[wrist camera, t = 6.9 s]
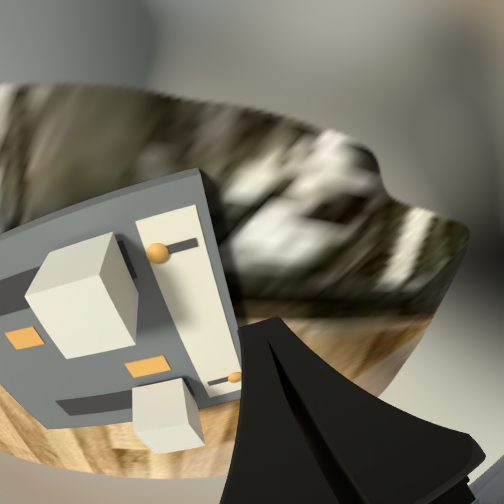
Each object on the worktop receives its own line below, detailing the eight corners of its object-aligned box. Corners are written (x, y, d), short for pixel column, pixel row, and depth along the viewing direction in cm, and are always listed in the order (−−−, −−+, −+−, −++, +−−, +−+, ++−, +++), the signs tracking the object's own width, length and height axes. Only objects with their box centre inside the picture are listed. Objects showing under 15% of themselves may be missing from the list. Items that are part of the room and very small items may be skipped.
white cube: (197, 404, 22) (205, 445, 19) (152, 413, 22) (156, 454, 18) (181, 377, 20) (188, 423, 17) (132, 388, 20) (133, 433, 16)
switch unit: (251, 380, 26) (256, 396, 24) (49, 417, 22) (47, 431, 21) (197, 167, 16) (201, 175, 14) (-66, 267, 13) (-76, 280, 11)
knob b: (138, 294, 16) (135, 344, 13) (79, 309, 16) (66, 359, 12) (112, 231, 14) (98, 274, 11) (49, 252, 14) (24, 296, 10)
